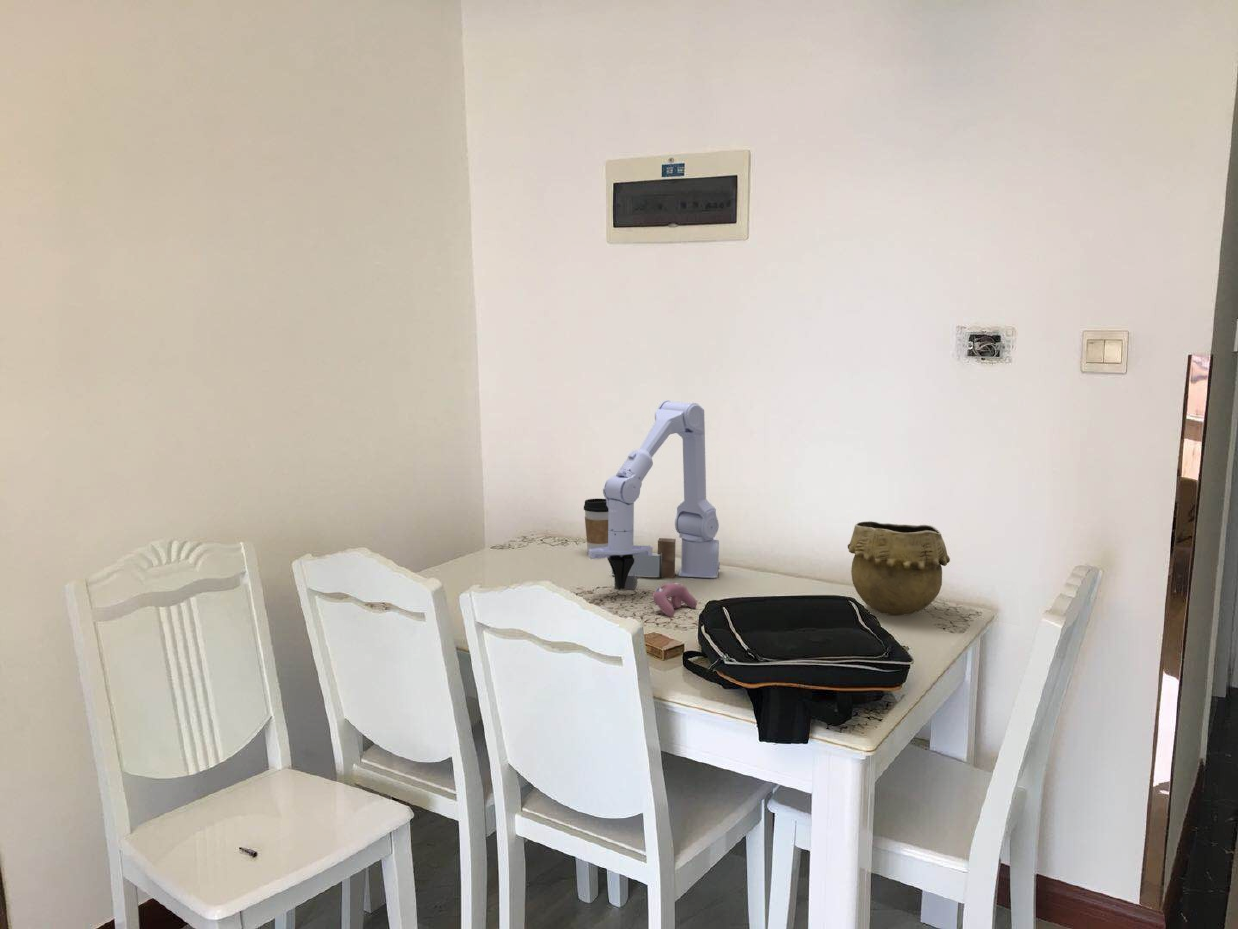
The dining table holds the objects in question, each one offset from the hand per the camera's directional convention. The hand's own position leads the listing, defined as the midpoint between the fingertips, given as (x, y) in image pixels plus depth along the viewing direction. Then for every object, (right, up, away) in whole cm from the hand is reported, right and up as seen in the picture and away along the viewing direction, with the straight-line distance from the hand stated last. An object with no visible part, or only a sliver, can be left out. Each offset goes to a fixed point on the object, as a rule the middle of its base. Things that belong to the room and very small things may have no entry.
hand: (620, 587), depth 219 cm
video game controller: (+12, -4, -11) cm, 16 cm away
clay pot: (+59, -4, -11) cm, 61 cm away
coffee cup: (-6, +4, +38) cm, 39 cm away
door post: (+11, +1, +18) cm, 21 cm away
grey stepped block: (+1, -1, +9) cm, 9 cm away
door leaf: (+4, +1, +16) cm, 17 cm away
